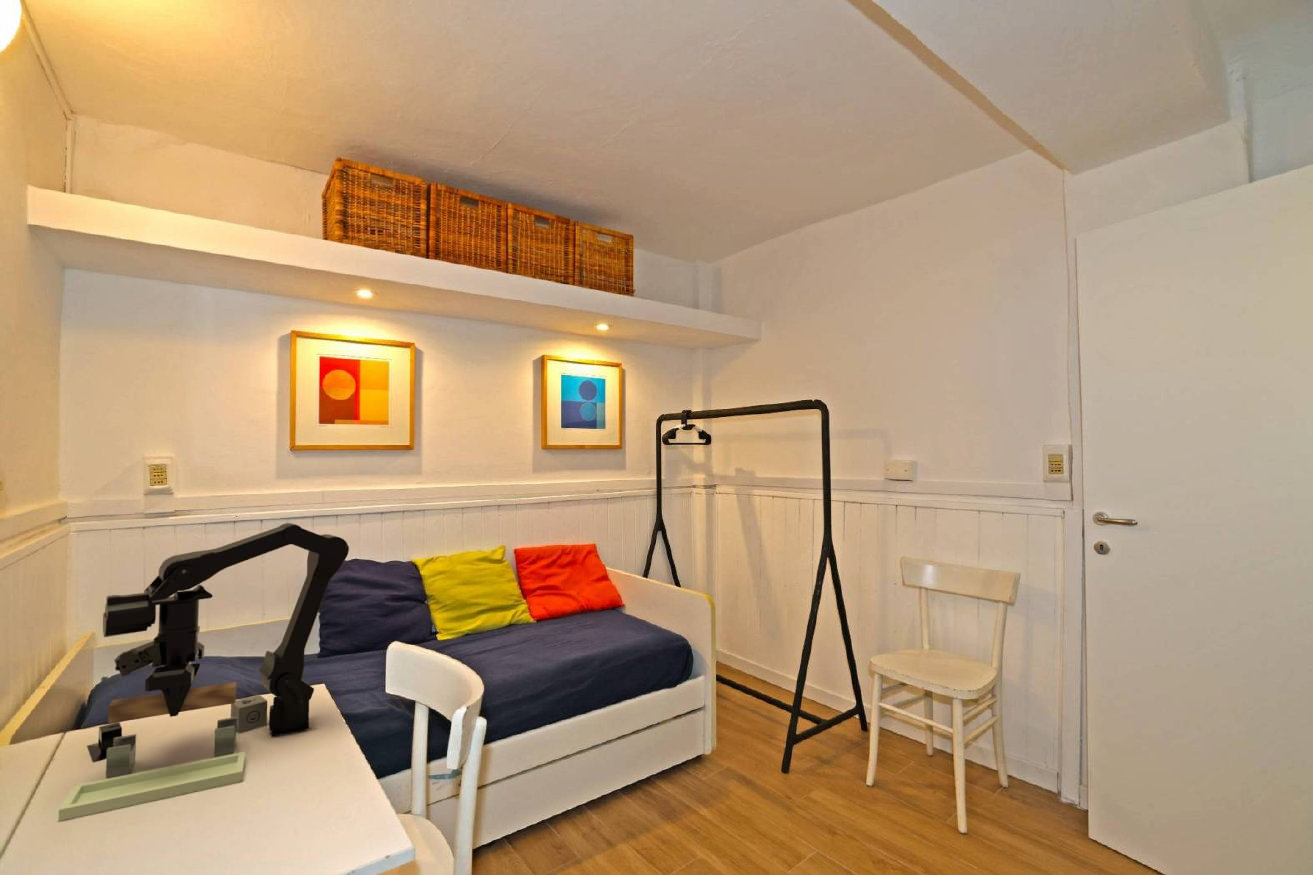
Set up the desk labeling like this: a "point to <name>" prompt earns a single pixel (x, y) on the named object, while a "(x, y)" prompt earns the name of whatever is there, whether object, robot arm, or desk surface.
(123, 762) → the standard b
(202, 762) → the tray
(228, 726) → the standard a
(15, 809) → the desk surface
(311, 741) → the desk surface
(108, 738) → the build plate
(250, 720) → the dice cube
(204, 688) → the rail
